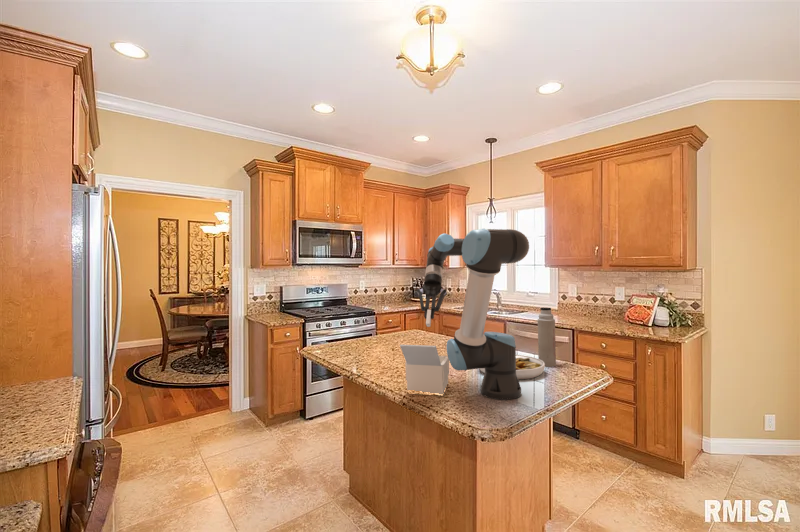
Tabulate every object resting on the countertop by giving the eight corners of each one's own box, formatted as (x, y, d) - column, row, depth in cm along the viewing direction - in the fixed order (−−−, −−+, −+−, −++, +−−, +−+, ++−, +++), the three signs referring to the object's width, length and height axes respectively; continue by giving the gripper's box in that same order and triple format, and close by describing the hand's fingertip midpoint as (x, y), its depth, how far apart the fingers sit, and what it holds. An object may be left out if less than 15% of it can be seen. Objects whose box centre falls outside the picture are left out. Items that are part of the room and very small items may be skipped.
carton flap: (400, 344, 139) (399, 345, 138) (435, 345, 135) (435, 346, 135) (407, 363, 148) (407, 364, 148) (441, 364, 145) (440, 365, 144)
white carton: (414, 382, 163) (413, 354, 163) (449, 384, 159) (449, 356, 159) (405, 393, 149) (405, 363, 149) (444, 396, 145) (443, 364, 145)
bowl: (535, 364, 190) (535, 348, 190) (553, 382, 160) (552, 363, 160) (474, 363, 193) (474, 348, 193) (480, 381, 163) (480, 363, 163)
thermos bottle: (558, 364, 187) (556, 307, 187) (553, 367, 181) (552, 308, 181) (541, 362, 192) (540, 306, 192) (536, 365, 186) (535, 308, 186)
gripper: (449, 282, 169) (445, 330, 155) (420, 282, 172) (413, 329, 158) (447, 272, 163) (443, 321, 149) (417, 272, 166) (410, 320, 152)
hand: (428, 325), depth 154 cm, fingers closed
